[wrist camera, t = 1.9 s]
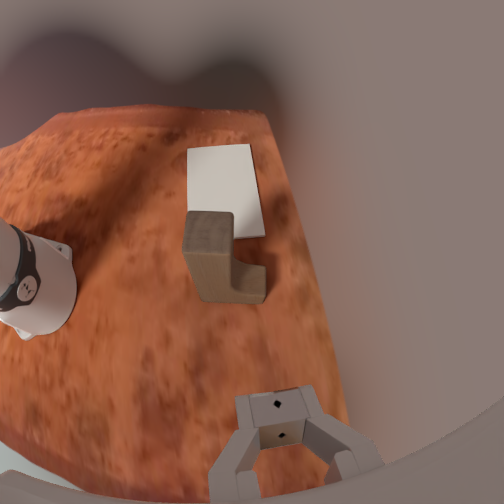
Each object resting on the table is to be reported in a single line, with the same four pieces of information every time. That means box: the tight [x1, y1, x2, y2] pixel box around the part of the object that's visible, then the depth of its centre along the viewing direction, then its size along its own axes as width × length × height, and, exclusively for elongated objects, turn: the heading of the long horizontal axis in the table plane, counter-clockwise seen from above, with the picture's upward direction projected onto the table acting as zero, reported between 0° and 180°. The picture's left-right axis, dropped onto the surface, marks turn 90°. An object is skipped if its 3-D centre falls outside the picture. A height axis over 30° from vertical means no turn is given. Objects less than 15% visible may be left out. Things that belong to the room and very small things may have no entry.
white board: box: [187, 144, 265, 239], centre depth 49 cm, size 20×12×1 cm, turn 8°
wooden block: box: [182, 210, 266, 304], centre depth 34 cm, size 9×4×18 cm, turn 89°
